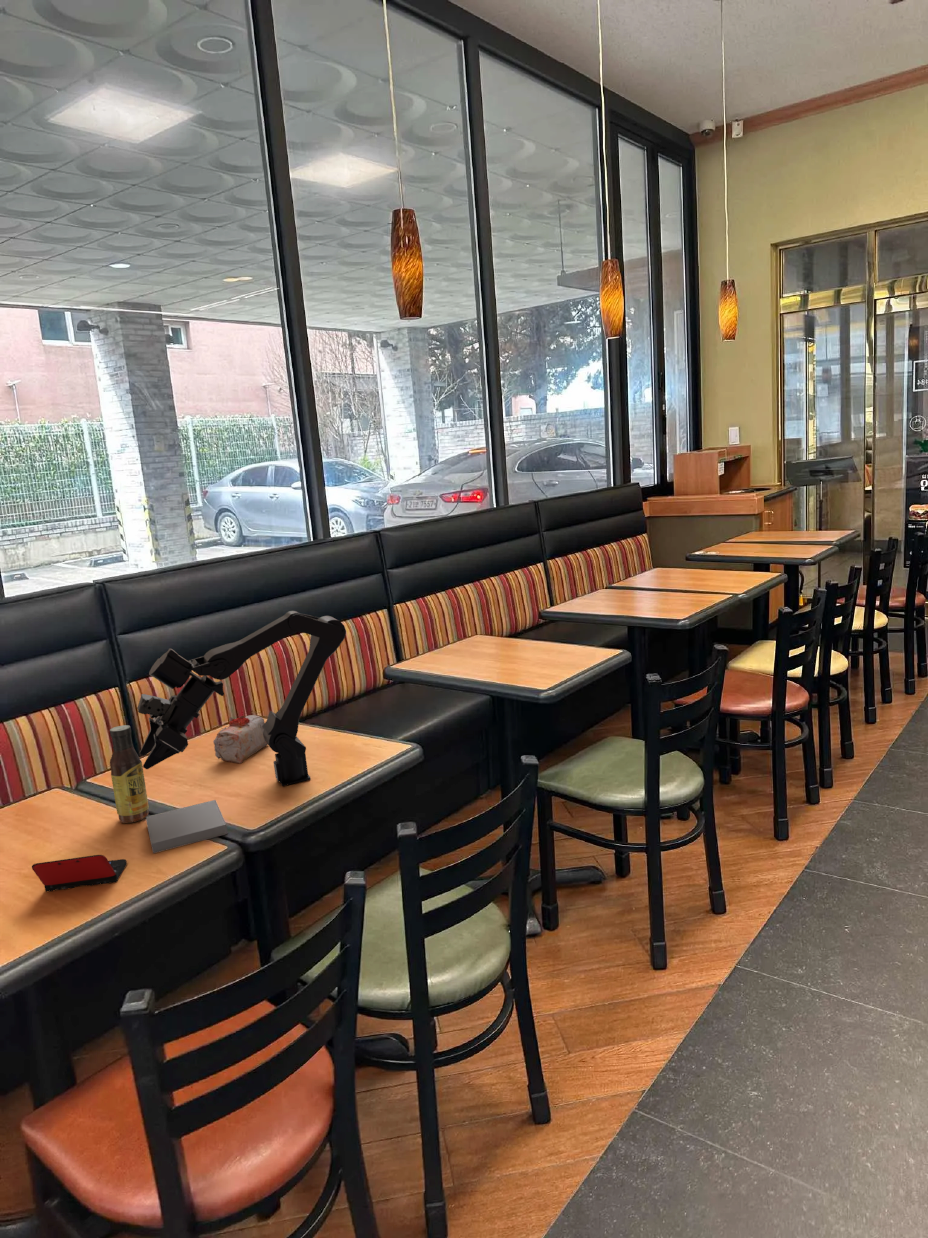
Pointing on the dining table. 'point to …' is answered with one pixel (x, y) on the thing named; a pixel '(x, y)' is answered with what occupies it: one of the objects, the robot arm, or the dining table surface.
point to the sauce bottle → (127, 777)
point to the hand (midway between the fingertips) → (143, 761)
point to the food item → (240, 739)
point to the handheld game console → (78, 872)
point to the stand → (185, 826)
